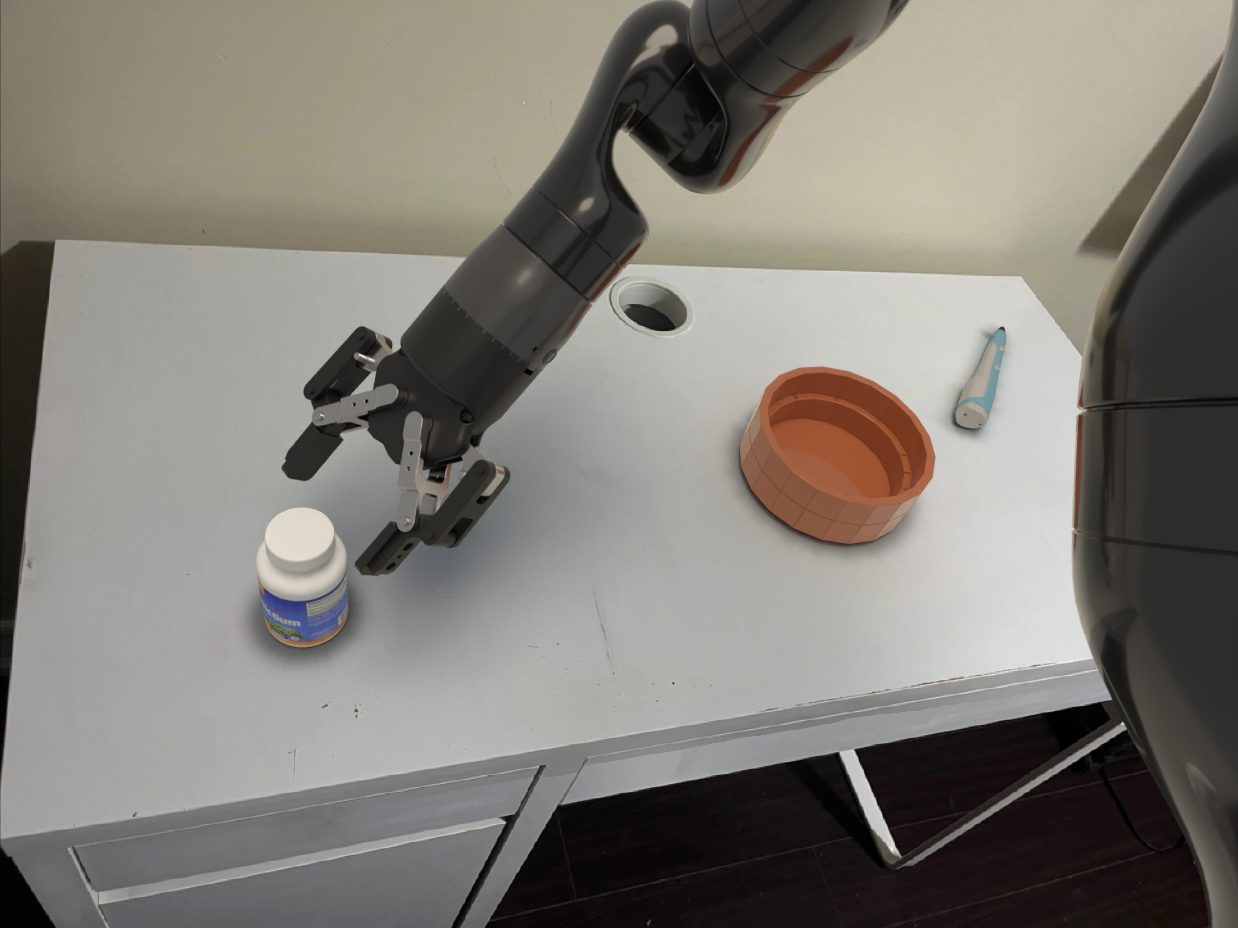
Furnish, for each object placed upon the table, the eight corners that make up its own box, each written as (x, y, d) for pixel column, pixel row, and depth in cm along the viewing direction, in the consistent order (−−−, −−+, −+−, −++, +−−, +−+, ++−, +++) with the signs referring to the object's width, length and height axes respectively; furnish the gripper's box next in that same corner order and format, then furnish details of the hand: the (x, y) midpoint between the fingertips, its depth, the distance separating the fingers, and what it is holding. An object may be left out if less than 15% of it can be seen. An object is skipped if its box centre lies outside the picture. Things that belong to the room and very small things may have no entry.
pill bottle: (248, 612, 58) (229, 529, 51) (315, 566, 61) (307, 482, 54) (299, 665, 56) (287, 588, 49) (366, 616, 60) (364, 536, 52)
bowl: (929, 479, 80) (961, 437, 76) (856, 580, 71) (888, 538, 66) (791, 387, 84) (814, 342, 80) (705, 470, 75) (725, 424, 71)
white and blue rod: (977, 438, 86) (993, 418, 83) (947, 422, 86) (962, 403, 84) (1010, 337, 98) (1024, 318, 96) (984, 324, 98) (998, 305, 96)
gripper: (392, 230, 50) (225, 436, 52) (544, 383, 45) (351, 606, 47) (461, 276, 57) (311, 457, 59) (600, 413, 52) (429, 606, 54)
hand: (329, 522), depth 53 cm, fingers open, 8 cm apart
